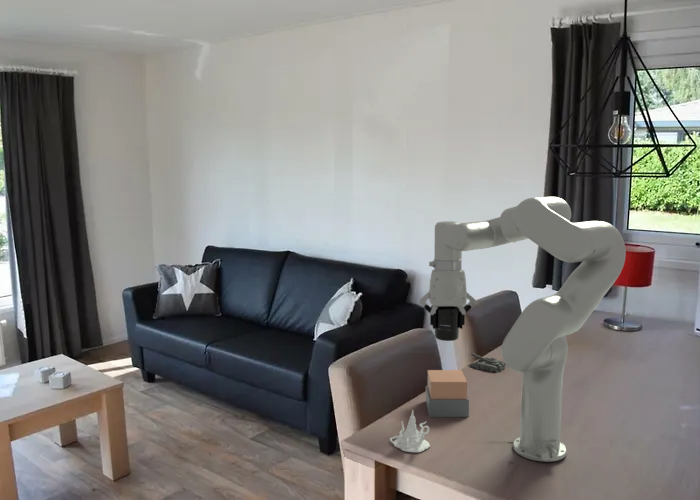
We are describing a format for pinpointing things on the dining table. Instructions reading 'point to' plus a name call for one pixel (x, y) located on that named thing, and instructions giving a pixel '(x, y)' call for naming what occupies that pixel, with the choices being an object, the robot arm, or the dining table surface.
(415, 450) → the tentacle sculpture
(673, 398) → the dining table surface
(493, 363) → the tank toy
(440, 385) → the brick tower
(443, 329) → the supplement bottle
